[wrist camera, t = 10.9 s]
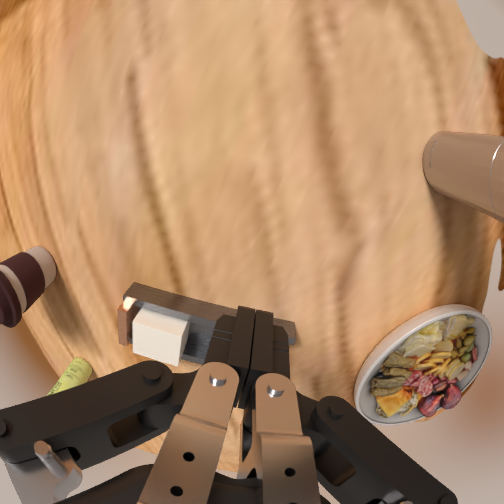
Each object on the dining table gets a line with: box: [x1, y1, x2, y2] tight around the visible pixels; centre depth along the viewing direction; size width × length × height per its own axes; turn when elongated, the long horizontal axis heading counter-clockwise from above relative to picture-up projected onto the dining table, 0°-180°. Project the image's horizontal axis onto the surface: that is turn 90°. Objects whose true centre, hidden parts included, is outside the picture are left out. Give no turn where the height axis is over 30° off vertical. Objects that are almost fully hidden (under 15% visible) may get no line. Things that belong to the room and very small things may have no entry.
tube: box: [47, 357, 92, 396], centre depth 41 cm, size 6×5×20 cm
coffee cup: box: [0, 246, 56, 328], centre depth 34 cm, size 10×10×15 cm
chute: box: [118, 282, 296, 365], centre depth 40 cm, size 25×9×6 cm, turn 76°
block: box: [133, 308, 190, 366], centre depth 39 cm, size 7×6×6 cm
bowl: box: [354, 304, 492, 426], centre depth 42 cm, size 30×30×8 cm
